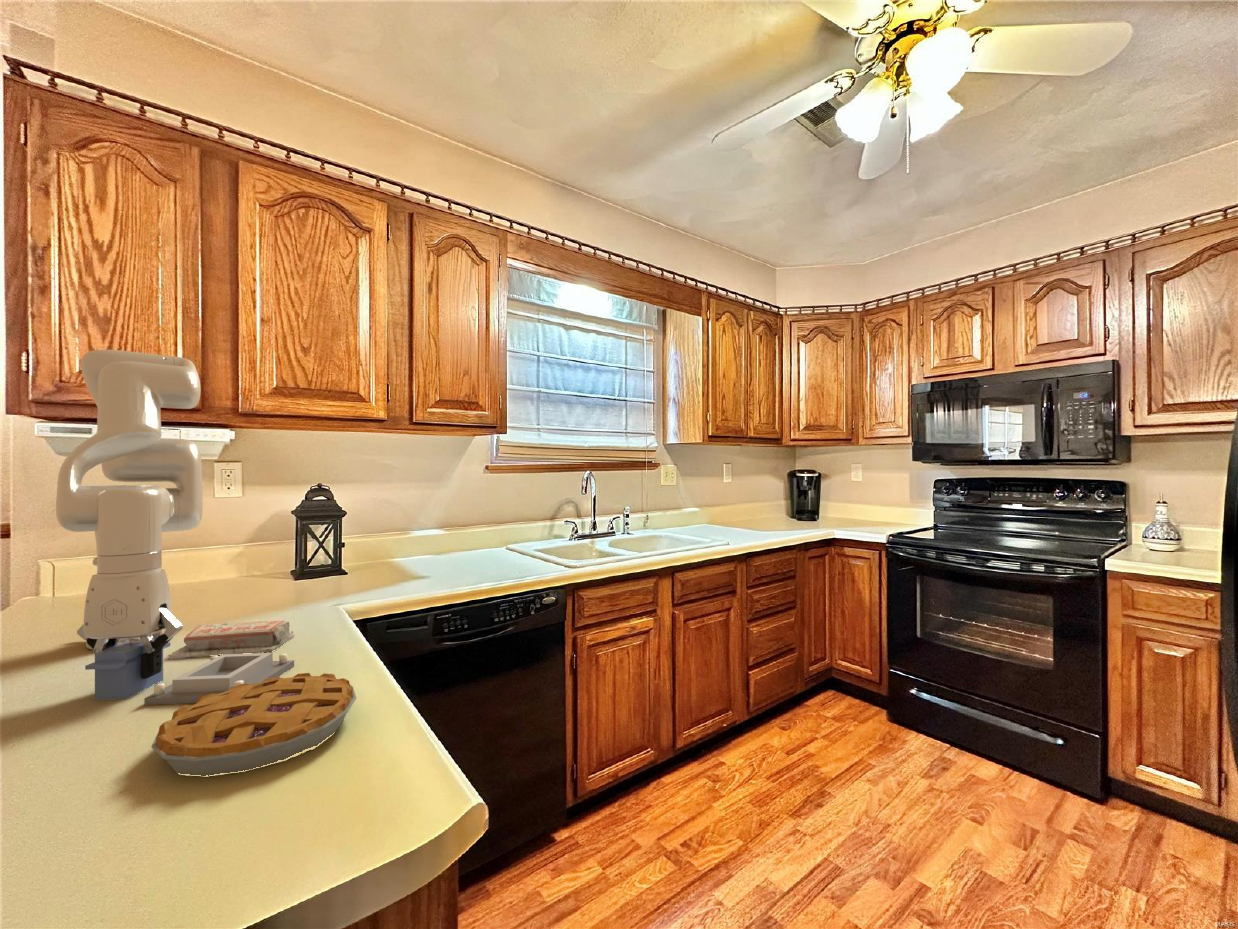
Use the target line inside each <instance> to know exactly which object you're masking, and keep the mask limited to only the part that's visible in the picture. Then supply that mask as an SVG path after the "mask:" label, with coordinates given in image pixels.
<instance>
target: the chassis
mask: <svg viewBox="0 0 1238 929" xmlns="http://www.w3.org/2000/svg"><path fill="white" fill-rule="evenodd" d="M273 655H274V654H273V652H270V653H252V654H223V655H221V656H209V657H210V658H209V661H207V662H205V663H203V664H201V665H199V666H197V667H195V668H193V669H191V670H189V671H187V672H185V673H183V674H181V675H179V676H177V677H175V678H173V679H172V681H171V682H172V683H171V684H169V685H165V683H164V682H159V683H157V684H155V685H153V689H154V690H153V693H152V694H150V695H148V696H146V697H144V699H143V700H144V701H143V702H144V706H153V705H176V704H179V705H180V704H181V705H183V704H196V703H197V701H198V698H199V697H201V696H205V695H209V694H220V693H222V692H225V691H228V690H229V689H230V688H231V687H232V686H236V685H240V684H244V683H245V684H248V685H250V684H255V683H260V682H262V681H264V680H265V679H269V678H276V677H278V676H279V677H280V676H282V675H283V674H285V673H286V672H287V671H289V670H290V668H291V667H292V668H294V667H295V660H288V653H281V654H279V655H278V660H273V659H274V658H273ZM292 668H291V669H292ZM285 671H286V672H285ZM284 672H285V673H284ZM281 674H282V675H281ZM165 686H166V687H165Z"/></svg>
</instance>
